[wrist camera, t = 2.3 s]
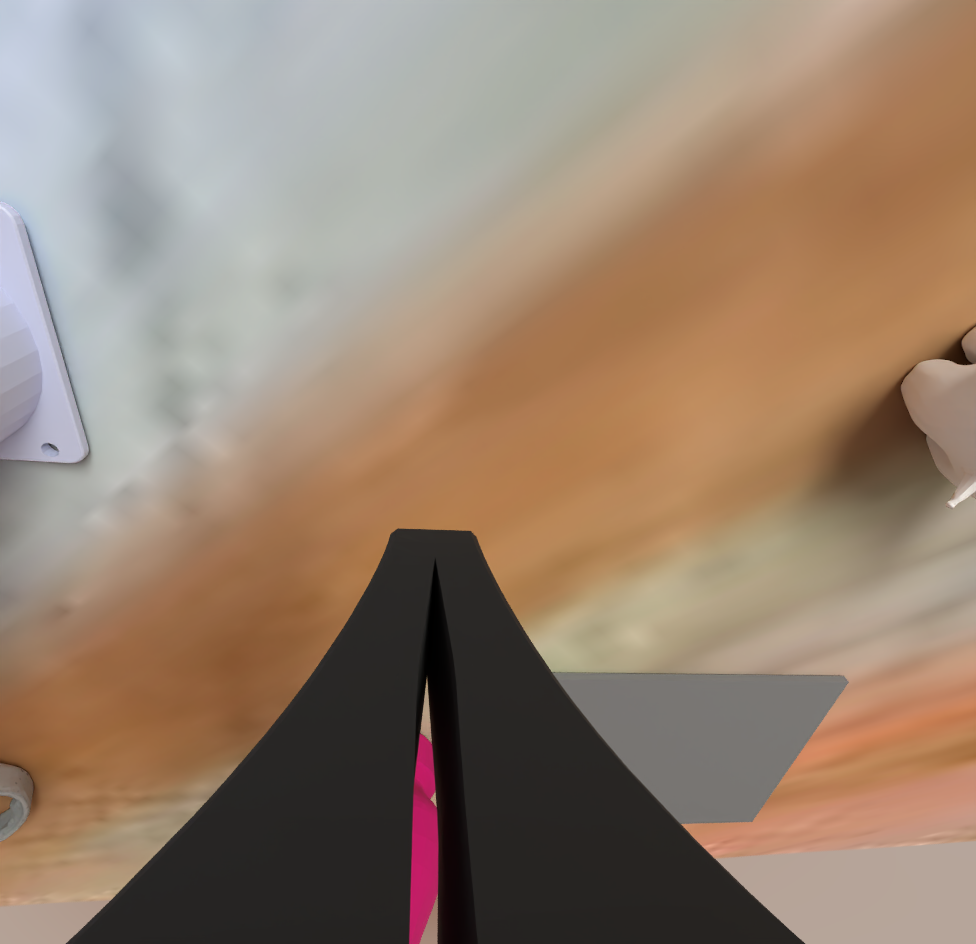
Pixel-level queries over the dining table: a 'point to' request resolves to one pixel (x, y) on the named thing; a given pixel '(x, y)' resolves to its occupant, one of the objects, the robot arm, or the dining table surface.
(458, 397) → the dining table surface
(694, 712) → the mat
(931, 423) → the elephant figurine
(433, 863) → the pepper mill
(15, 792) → the ceramic mug
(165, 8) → the dining table surface
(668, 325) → the dining table surface
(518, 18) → the dining table surface
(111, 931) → the robot arm
